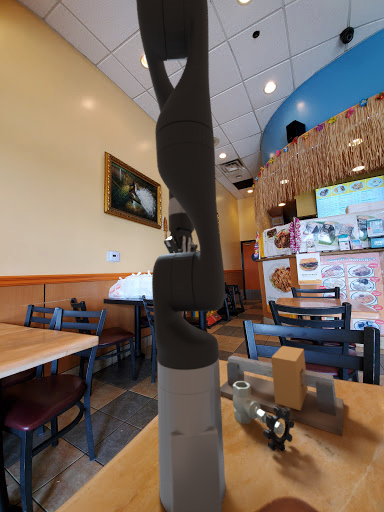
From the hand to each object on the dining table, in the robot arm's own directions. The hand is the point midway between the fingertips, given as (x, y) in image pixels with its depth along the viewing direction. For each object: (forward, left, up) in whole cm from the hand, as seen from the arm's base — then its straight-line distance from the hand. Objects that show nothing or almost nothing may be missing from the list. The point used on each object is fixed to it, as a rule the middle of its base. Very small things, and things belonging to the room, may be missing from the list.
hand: (182, 274), depth 59 cm
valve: (-17, -12, -31) cm, 38 cm away
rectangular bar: (-8, -21, -31) cm, 38 cm away
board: (-8, -21, -31) cm, 38 cm away
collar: (-11, -24, -29) cm, 39 cm away
